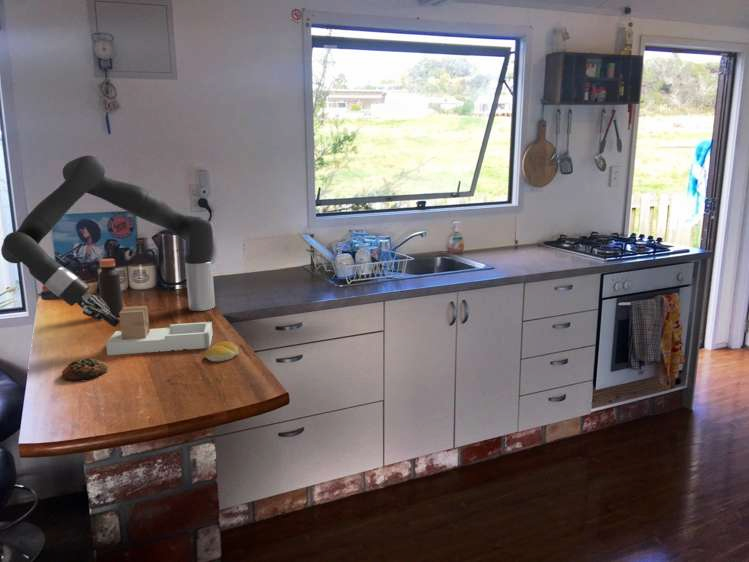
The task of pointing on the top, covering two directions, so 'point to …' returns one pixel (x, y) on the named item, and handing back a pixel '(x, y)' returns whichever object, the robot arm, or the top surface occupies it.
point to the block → (134, 322)
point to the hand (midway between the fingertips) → (117, 324)
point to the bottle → (110, 286)
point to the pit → (189, 336)
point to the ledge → (138, 343)
